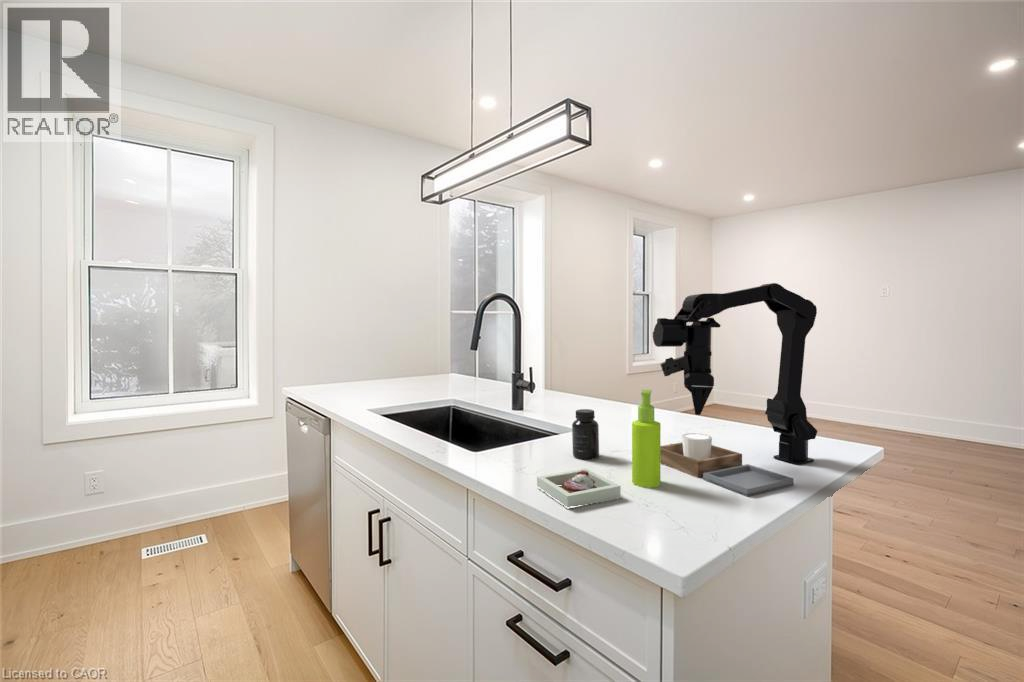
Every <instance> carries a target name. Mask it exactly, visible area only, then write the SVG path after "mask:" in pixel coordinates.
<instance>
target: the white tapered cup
mask: <svg viewBox="0 0 1024 682" xmlns="http://www.w3.org/2000/svg"><path fill="white" fill-rule="evenodd" d="M681 441H682V442H681V443H683V454H684V456H687V457H690V458H692V459H695V460H702V459H708V458H710V453H711V445H712V442H713V437H712V436H711V435H708V434H703V433H694V432H693V433H683V434H682V435H681Z"/></svg>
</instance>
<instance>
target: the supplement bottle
mask: <svg viewBox="0 0 1024 682" xmlns="http://www.w3.org/2000/svg"><path fill="white" fill-rule="evenodd" d="M595 417H596V416H595V411H594V409H591V408H590V409H589V408H588V409H587V408H582V409H576V410H575V419H576V420H574V421H573V422H572V424H571V431H572V432H571V434H572V437H571V440H572V456H573V457H574V458H575V459H577V460H584V461H585V460H587V461H589V460H595V459H597V458H599V455H600V437H599V436H600V433H599V432H600V431H599V430H600V429H599V423H598V421H596V420H595Z"/></svg>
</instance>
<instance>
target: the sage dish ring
mask: <svg viewBox="0 0 1024 682" xmlns="http://www.w3.org/2000/svg"><path fill="white" fill-rule="evenodd" d="M582 470H584V471H587V472H588V473H589V476H590V477H591V478H592V479H593V480H594V481H595V483H594V485H595V486H596V487H597V488H594V489H588V490H583V491H578V492H573V493H569V492H567V491H565V490H564V489H562V488H561V487H559V486H557V485H563V483H564V482H565V481H567V480H569V479H570V478H574V477H575V475H577V473H578V472H580V471H582ZM537 486H538V487H540V488H541V489H543V490H544V491H545V492H547V493H548V494H550V495H551V496H552V497H554V498H555V499H557V500H559V501H560V502H561V503H563V504H564V505H565V506H567V507H570V506H578V505H585V504H591V503H596V504H599V503H598V502H601V503H604V502H603V501H606V502H610V501H615V500H620V499H621V485H619V484H618V483H615V482H614V481H612V480H610V479H608V478H606V477H604V476H601V475H599V474H597V473H596V472H594V471H591V470H589V469H588V468H580V469H575V470H569V471H568V470H567V471H564V472H558V473H553V474H552V473H551V474H544V475H540V476H536V487H537ZM619 498H620V499H619ZM614 499H615V500H614ZM609 500H610V501H609ZM591 505H592V504H591Z"/></svg>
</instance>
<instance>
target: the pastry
mask: <svg viewBox="0 0 1024 682" xmlns="http://www.w3.org/2000/svg"><path fill="white" fill-rule="evenodd" d="M594 483H595V481H594V480H593V479H592V478H591V477H590V476H589V473H588V472H587V471H584V470H582V471H580V472H578V473H577V475H575V477H574V478H570V479H569V480H567V481H565V482H564V483H563V485H562V486H561V488H562V489H564V490H565V491H567V492H569V493H573V492H578V491H583V490H588V489H594V488H597V487H596V486H595V485H594Z"/></svg>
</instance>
